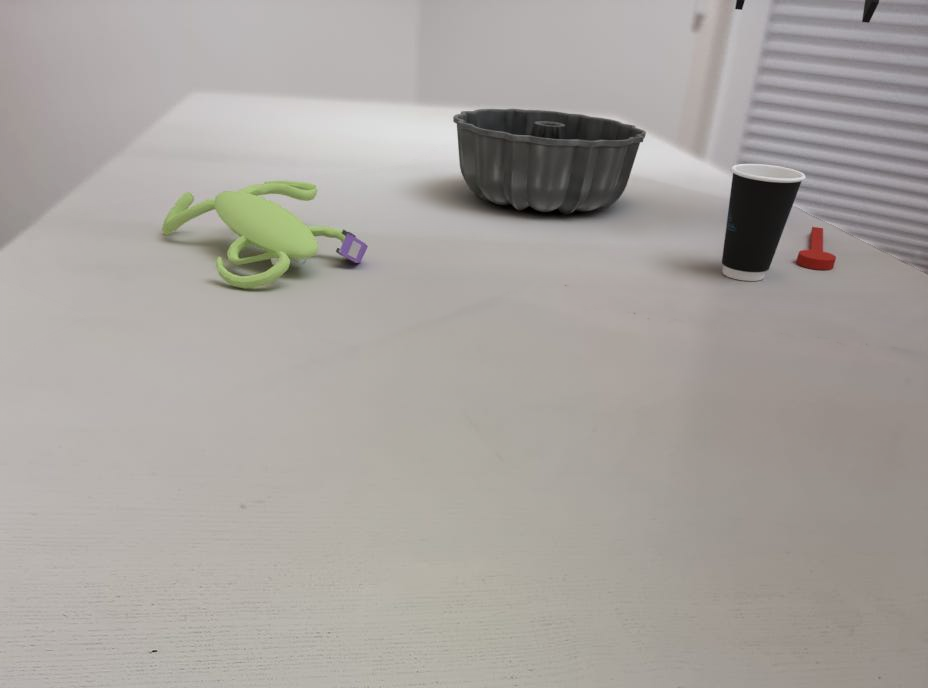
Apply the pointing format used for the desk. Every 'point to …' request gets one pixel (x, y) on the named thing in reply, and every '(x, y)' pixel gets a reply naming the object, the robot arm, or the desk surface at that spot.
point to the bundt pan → (545, 158)
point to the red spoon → (816, 253)
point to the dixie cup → (757, 217)
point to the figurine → (264, 229)
